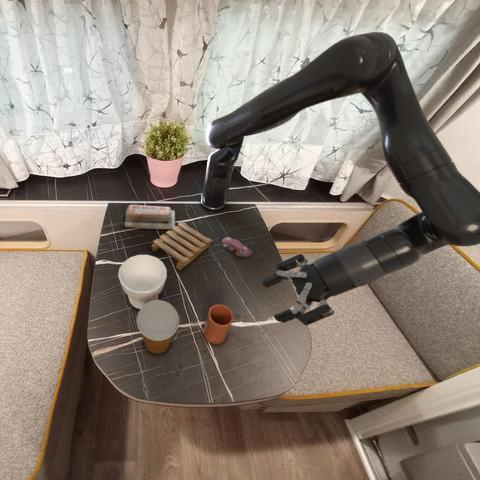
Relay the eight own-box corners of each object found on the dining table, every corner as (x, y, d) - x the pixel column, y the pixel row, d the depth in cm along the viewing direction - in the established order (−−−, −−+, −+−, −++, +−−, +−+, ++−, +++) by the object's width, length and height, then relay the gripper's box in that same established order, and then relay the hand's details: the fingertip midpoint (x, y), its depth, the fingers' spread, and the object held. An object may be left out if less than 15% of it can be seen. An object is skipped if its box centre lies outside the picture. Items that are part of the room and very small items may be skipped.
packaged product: (123, 217, 94) (127, 200, 101) (124, 228, 97) (128, 210, 104) (175, 220, 93) (175, 202, 100) (174, 230, 97) (174, 212, 104)
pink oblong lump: (220, 248, 93) (218, 240, 87) (228, 238, 94) (226, 229, 88) (245, 264, 89) (245, 256, 83) (253, 253, 89) (254, 245, 83)
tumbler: (212, 318, 73) (218, 300, 67) (230, 332, 70) (238, 315, 64) (198, 332, 70) (203, 315, 64) (217, 348, 67) (224, 331, 61)
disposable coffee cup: (139, 322, 72) (138, 297, 63) (175, 324, 71) (179, 299, 63) (136, 359, 65) (134, 336, 56) (176, 361, 65) (180, 338, 56)
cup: (161, 320, 72) (162, 296, 64) (115, 311, 74) (111, 288, 66) (168, 282, 81) (170, 258, 73) (128, 275, 82) (125, 251, 74)
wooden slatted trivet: (182, 226, 99) (183, 220, 96) (211, 244, 92) (212, 238, 90) (151, 249, 90) (151, 242, 88) (180, 271, 84) (181, 264, 82)
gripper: (323, 232, 55) (252, 268, 63) (361, 291, 45) (271, 325, 53) (336, 250, 59) (268, 281, 67) (374, 308, 49) (288, 337, 57)
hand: (269, 301), depth 60 cm, fingers open, 8 cm apart
